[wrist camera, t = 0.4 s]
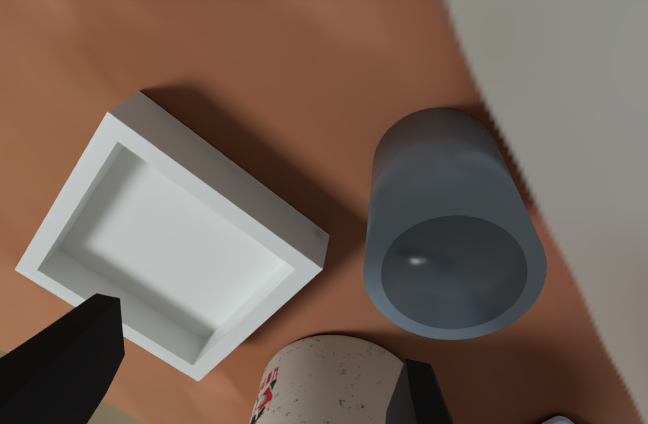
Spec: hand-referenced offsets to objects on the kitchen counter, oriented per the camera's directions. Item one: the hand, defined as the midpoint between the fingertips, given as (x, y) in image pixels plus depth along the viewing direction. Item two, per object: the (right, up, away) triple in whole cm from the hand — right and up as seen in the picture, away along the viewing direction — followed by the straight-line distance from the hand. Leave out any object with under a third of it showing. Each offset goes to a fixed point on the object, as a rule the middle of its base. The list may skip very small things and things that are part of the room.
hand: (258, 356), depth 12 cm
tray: (-5, +2, +11) cm, 12 cm away
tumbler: (+6, +5, +7) cm, 11 cm away
